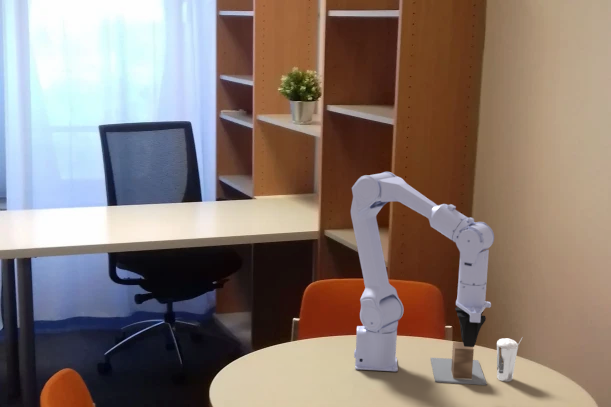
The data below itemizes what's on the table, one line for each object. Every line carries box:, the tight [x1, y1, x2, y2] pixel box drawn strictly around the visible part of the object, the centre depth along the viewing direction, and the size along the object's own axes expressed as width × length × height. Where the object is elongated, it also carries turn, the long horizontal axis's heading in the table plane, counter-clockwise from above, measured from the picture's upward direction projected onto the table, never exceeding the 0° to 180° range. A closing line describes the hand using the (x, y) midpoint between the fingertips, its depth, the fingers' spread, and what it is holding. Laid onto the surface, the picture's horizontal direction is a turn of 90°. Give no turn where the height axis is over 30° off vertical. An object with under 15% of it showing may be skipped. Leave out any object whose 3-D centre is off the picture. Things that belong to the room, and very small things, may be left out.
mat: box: [430, 357, 488, 386], centre depth 165 cm, size 11×13×1 cm
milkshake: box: [496, 336, 523, 383], centre depth 161 cm, size 4×5×10 cm
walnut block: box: [451, 341, 475, 380], centre depth 162 cm, size 4×4×7 cm
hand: (468, 344), depth 154 cm, fingers closed
